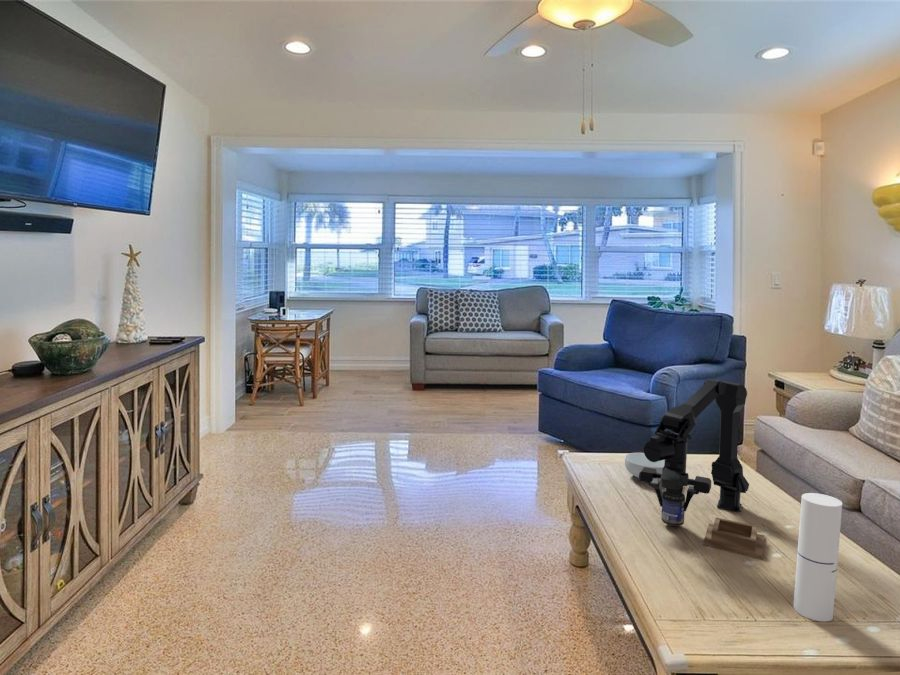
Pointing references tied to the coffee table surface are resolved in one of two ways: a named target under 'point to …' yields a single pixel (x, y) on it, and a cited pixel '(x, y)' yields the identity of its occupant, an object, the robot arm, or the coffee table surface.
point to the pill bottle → (673, 507)
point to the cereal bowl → (641, 463)
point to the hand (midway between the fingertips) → (673, 508)
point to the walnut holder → (735, 538)
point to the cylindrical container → (817, 556)
